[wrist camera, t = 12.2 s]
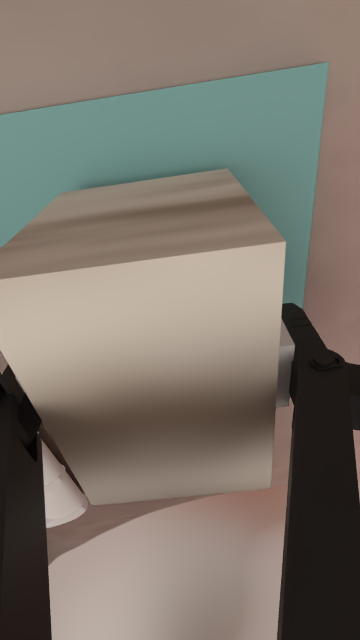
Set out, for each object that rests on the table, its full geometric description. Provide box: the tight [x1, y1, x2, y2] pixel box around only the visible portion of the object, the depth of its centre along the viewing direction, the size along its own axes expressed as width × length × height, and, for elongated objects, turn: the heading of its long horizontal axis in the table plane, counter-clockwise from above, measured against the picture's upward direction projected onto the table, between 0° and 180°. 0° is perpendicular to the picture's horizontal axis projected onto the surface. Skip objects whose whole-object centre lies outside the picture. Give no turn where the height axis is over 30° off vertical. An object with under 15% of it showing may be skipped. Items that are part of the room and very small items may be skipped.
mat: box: [0, 62, 329, 309], centre depth 18 cm, size 16×16×1 cm
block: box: [0, 168, 286, 506], centre depth 13 cm, size 10×7×8 cm
